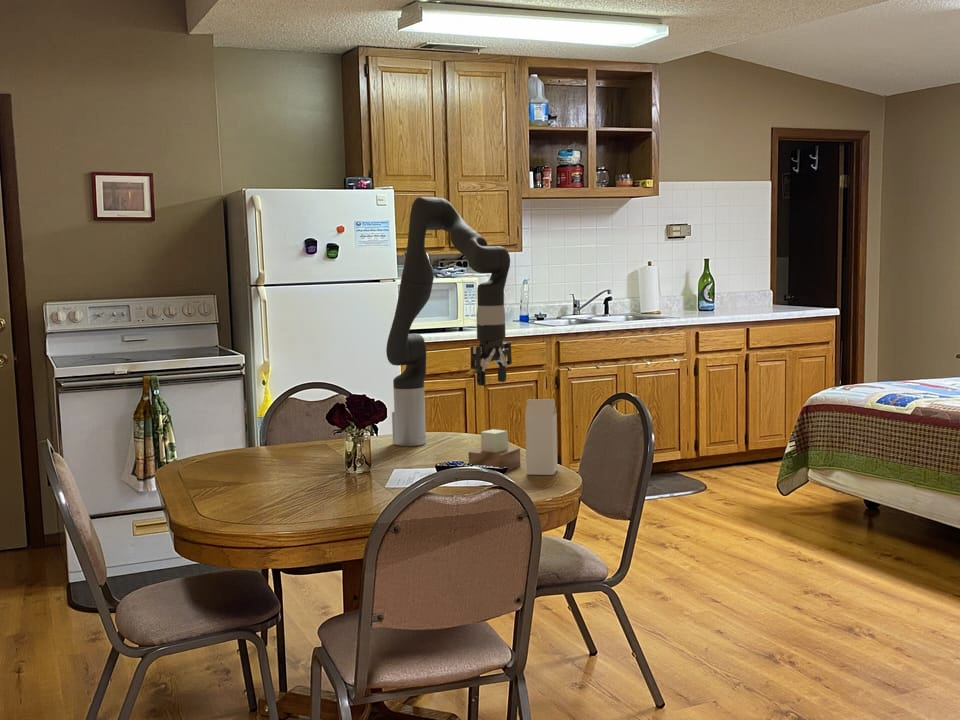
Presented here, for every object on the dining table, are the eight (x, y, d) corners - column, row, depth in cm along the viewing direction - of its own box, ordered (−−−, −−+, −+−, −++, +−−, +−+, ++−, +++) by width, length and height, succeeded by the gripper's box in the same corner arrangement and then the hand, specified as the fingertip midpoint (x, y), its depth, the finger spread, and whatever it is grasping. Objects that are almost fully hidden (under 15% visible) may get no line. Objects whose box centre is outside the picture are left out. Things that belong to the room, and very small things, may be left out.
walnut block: (469, 470, 264) (468, 452, 263) (487, 463, 273) (487, 445, 272) (502, 474, 259) (501, 455, 258) (520, 466, 268) (519, 448, 267)
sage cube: (481, 450, 265) (480, 432, 264) (493, 447, 269) (492, 429, 268) (496, 452, 262) (495, 433, 261) (508, 449, 266) (507, 430, 265)
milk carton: (554, 475, 254) (552, 401, 252) (526, 475, 256) (524, 401, 254) (557, 469, 261) (556, 397, 259) (530, 469, 263) (529, 397, 261)
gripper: (496, 320, 272) (497, 379, 274) (462, 323, 261) (463, 385, 263) (518, 321, 267) (519, 381, 269) (484, 324, 256) (485, 387, 258)
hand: (491, 383), depth 266 cm, fingers open, 8 cm apart
